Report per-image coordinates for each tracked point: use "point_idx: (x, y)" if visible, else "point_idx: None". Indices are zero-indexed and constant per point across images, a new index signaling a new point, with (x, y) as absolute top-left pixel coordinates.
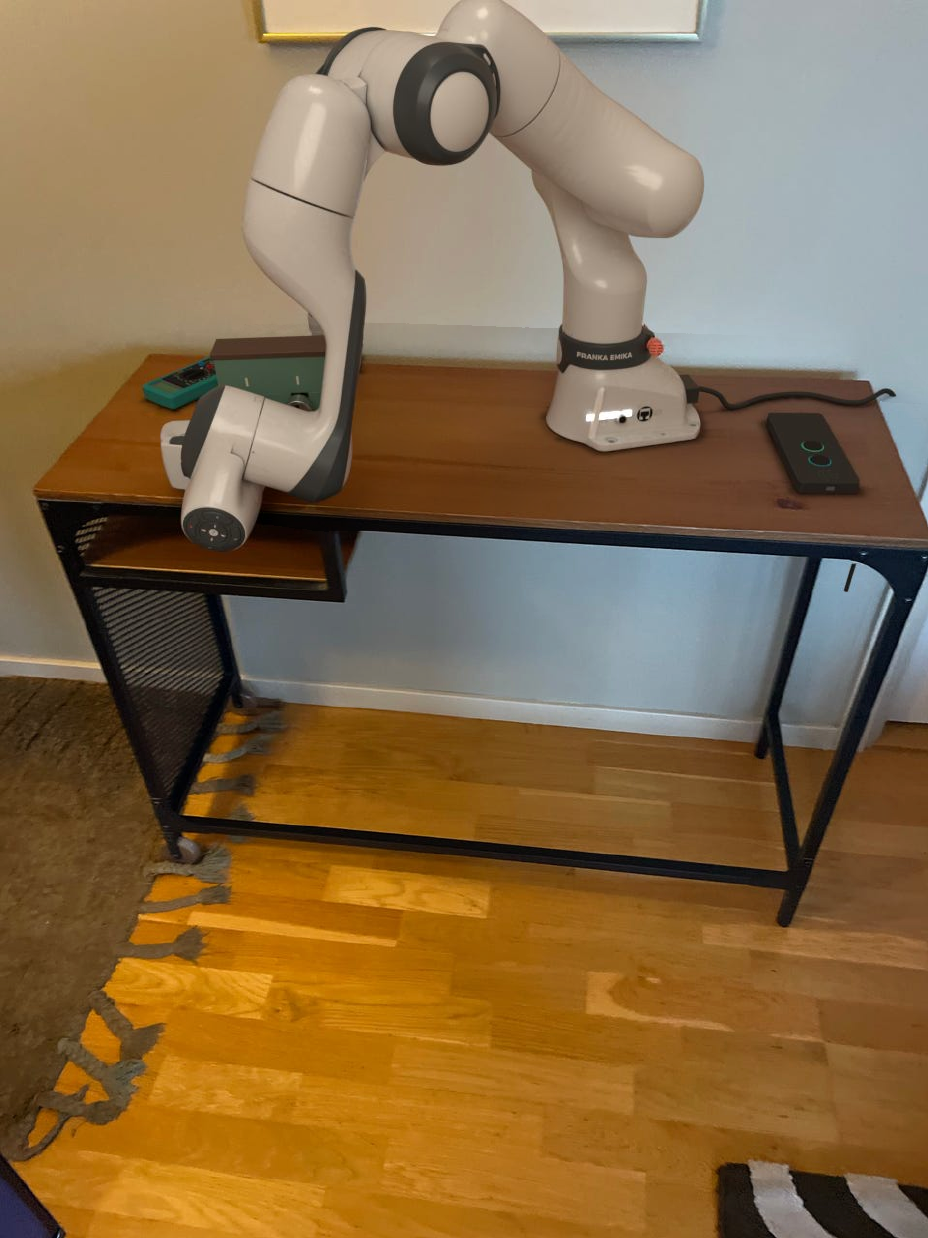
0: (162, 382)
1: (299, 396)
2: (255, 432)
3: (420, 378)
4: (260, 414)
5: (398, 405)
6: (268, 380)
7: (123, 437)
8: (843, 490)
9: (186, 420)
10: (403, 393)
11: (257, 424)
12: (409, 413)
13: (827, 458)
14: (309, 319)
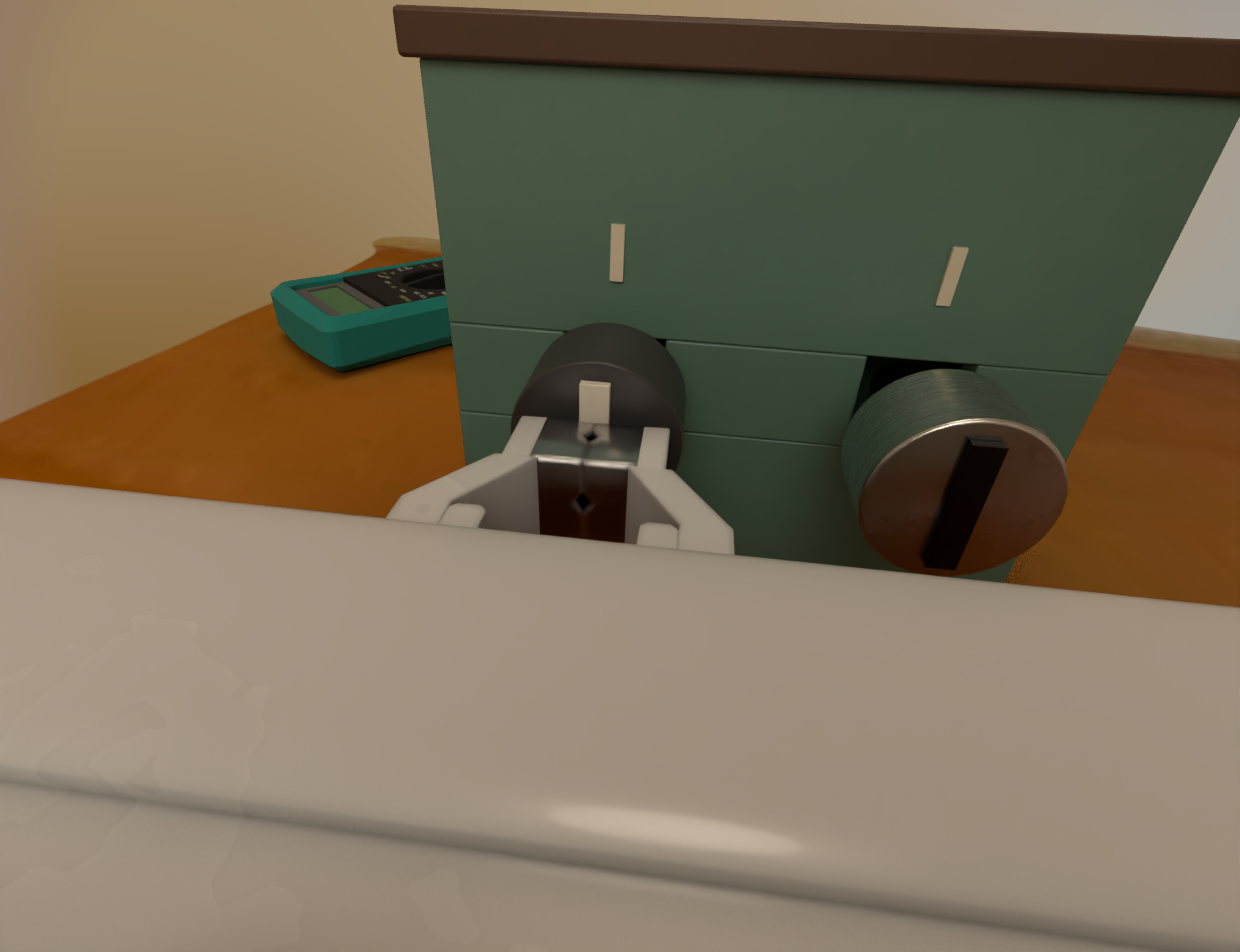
0: (338, 288)
1: (981, 384)
2: (738, 921)
3: None
4: (674, 468)
5: (1124, 456)
6: (757, 258)
7: (86, 452)
8: None
9: (12, 483)
10: (1094, 412)
11: (744, 702)
12: (1212, 500)
13: None
14: None
